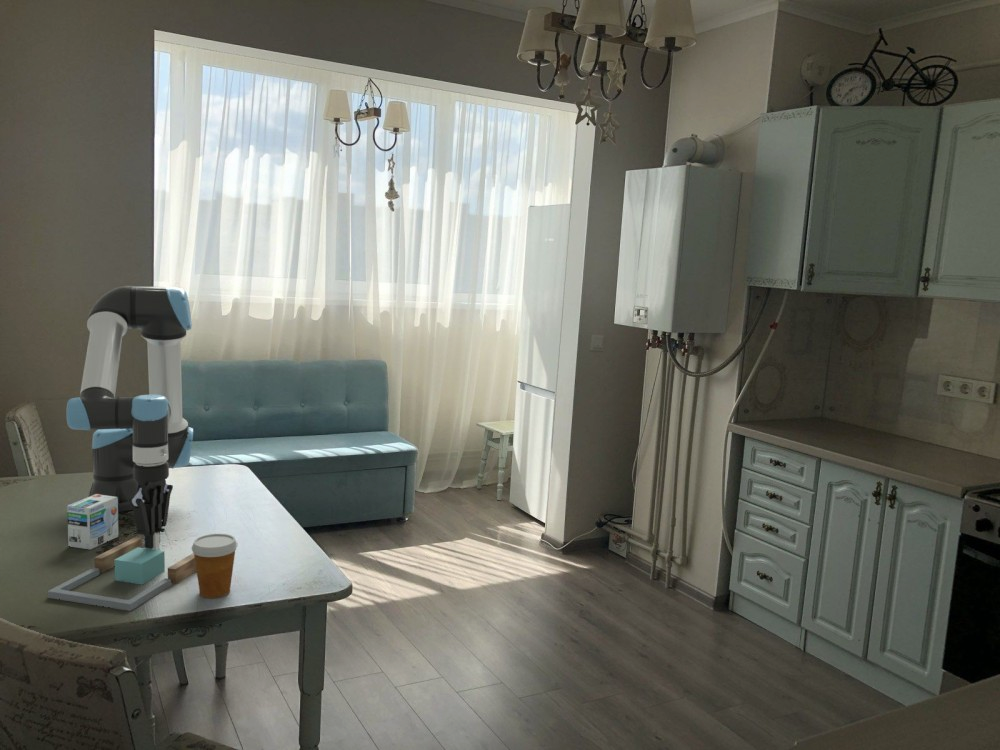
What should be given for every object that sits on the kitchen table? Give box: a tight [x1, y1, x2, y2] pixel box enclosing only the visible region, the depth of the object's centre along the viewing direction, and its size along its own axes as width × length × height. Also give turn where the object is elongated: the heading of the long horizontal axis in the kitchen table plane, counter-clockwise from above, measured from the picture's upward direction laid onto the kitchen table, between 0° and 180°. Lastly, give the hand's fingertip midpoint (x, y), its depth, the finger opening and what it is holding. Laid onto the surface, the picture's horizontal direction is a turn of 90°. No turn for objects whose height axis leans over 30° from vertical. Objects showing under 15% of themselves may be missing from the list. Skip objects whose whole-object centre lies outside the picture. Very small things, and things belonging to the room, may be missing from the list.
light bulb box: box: [66, 494, 119, 550], centre depth 198 cm, size 11×7×11 cm, turn 168°
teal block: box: [114, 547, 166, 585], centre depth 180 cm, size 8×7×5 cm
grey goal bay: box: [47, 567, 172, 612], centre depth 171 cm, size 14×20×2 cm
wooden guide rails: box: [94, 536, 197, 585], centre depth 185 cm, size 14×21×4 cm, turn 78°
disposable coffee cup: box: [191, 533, 239, 599], centre depth 172 cm, size 10×10×12 cm
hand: (152, 559), depth 184 cm, fingers closed
